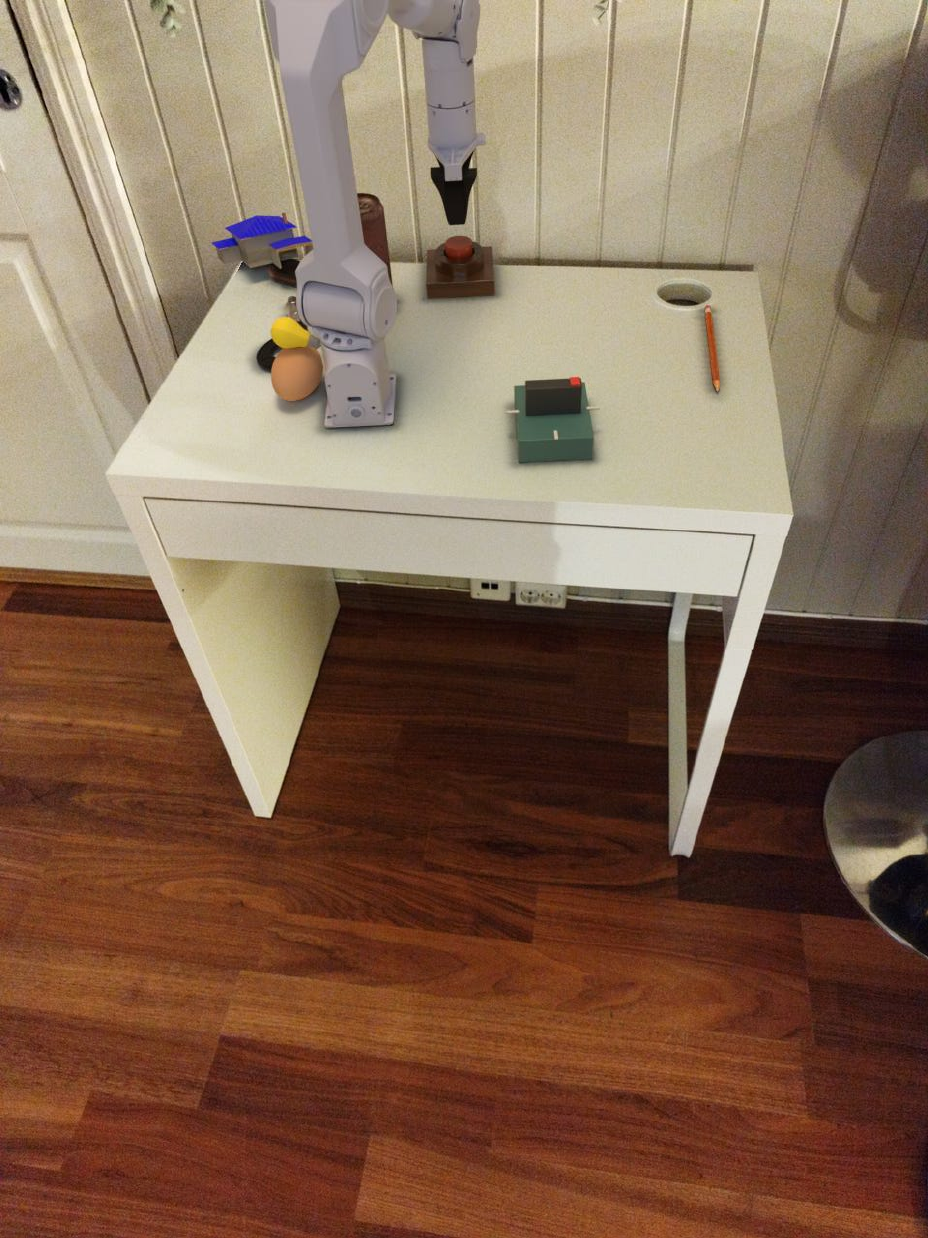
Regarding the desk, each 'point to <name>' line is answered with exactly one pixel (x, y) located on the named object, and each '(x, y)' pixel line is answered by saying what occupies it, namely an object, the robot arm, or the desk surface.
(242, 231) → the house
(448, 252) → the button
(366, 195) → the can
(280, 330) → the light bulb
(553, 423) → the panel
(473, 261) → the button block
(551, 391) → the battery with red terminal
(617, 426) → the desk surface
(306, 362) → the egg
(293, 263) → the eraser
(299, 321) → the micrometer
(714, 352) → the pencil
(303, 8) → the robot arm
